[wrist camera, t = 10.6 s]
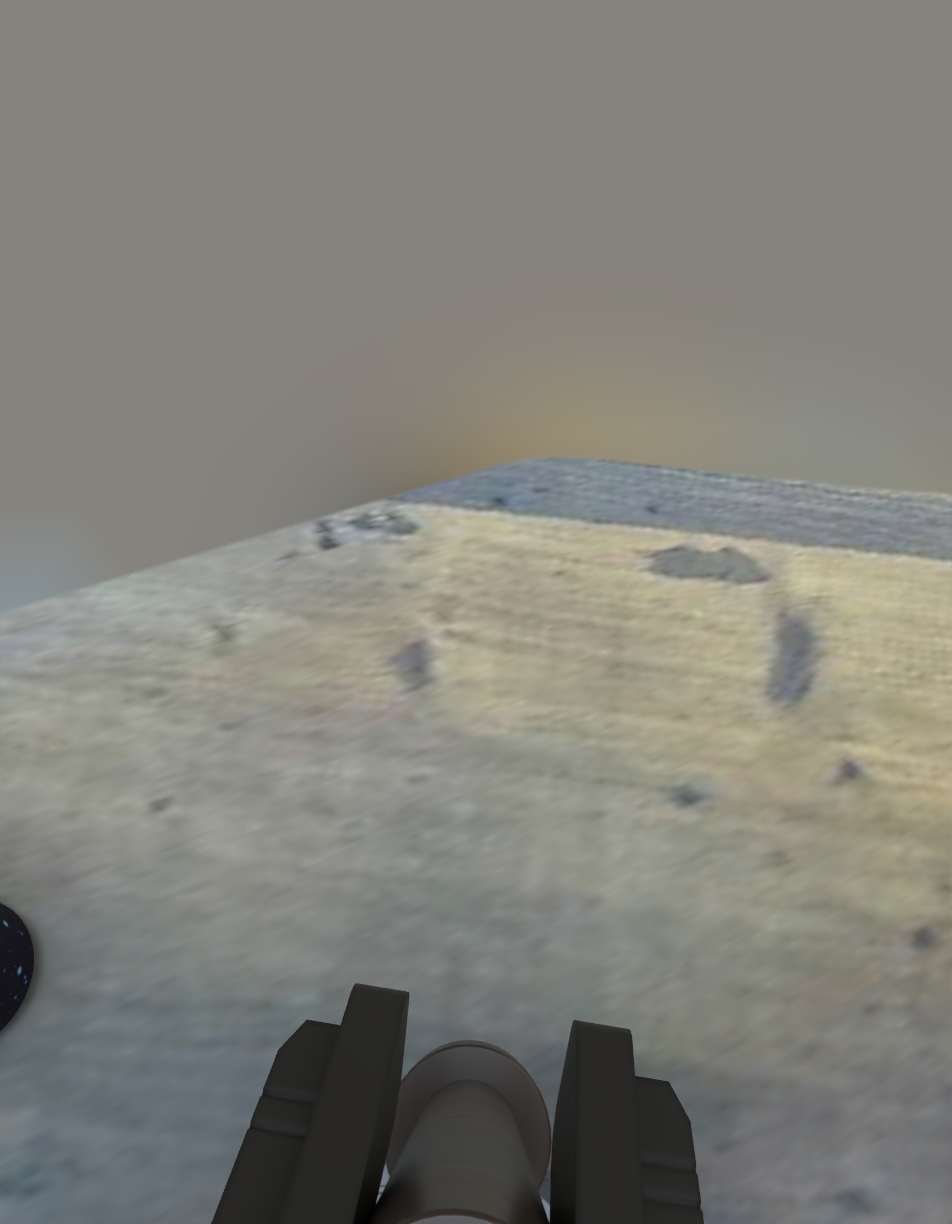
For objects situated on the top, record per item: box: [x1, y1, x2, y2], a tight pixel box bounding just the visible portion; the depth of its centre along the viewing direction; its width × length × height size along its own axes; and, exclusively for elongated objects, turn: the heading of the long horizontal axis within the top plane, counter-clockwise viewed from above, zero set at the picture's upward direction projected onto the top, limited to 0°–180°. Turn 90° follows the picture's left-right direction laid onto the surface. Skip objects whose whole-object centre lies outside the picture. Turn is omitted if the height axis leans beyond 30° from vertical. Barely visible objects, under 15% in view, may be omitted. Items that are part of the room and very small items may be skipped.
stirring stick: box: [367, 1040, 551, 1224], centre depth 14 cm, size 4×4×15 cm
